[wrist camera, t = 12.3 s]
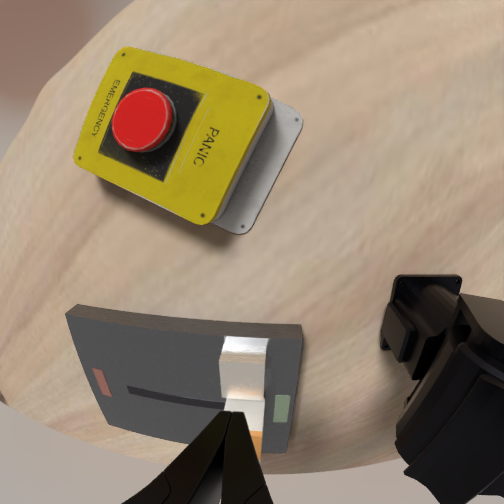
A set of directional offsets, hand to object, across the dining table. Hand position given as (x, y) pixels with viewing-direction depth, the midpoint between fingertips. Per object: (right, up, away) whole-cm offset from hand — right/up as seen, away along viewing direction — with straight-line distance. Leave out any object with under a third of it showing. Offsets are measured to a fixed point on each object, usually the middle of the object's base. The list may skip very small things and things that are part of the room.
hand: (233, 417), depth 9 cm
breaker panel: (-6, -6, +15) cm, 17 cm away
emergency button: (-4, +14, +9) cm, 18 cm away
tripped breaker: (0, -7, +12) cm, 14 cm away
